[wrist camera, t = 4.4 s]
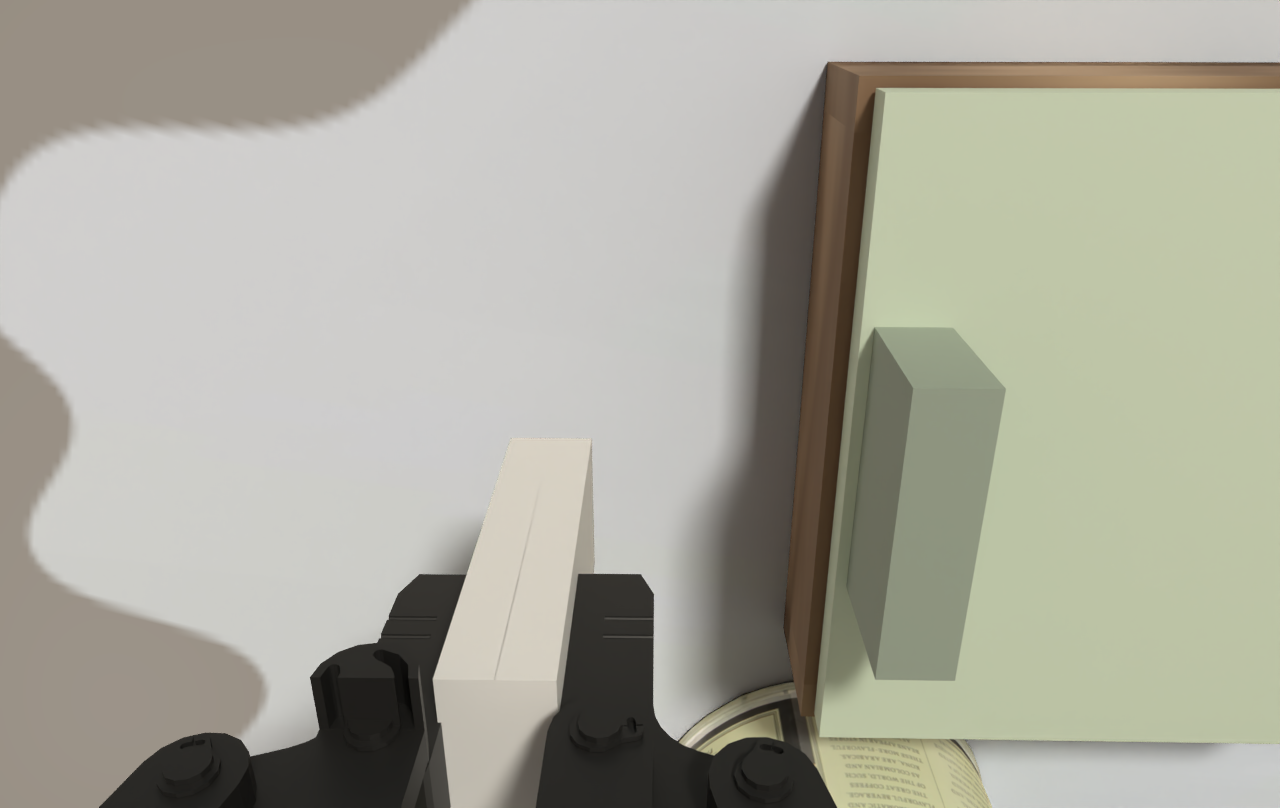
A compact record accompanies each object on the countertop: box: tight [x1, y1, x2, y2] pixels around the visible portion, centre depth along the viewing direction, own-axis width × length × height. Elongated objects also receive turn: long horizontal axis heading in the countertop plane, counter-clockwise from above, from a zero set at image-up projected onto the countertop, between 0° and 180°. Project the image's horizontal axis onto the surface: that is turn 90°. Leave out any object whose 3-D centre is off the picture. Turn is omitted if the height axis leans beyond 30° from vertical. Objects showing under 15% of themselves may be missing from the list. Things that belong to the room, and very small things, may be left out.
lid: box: [814, 88, 1280, 744], centre depth 18 cm, size 14×15×4 cm
